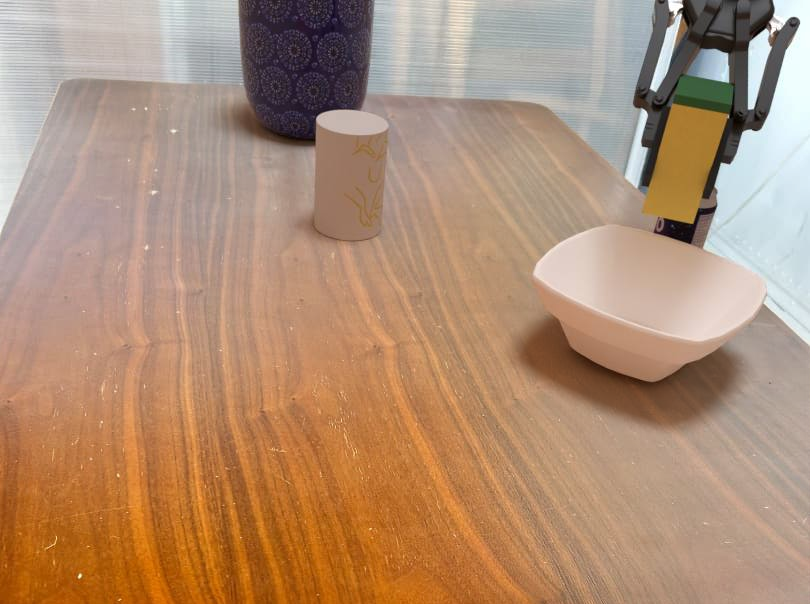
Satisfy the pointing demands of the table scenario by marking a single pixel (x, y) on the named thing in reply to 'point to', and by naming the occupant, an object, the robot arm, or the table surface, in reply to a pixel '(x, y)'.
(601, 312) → the bowl
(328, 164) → the beige patterned cylinder
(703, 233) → the beverage can
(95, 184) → the table surface
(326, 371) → the table surface
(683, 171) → the sponge
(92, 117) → the table surface
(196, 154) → the table surface
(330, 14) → the planter
